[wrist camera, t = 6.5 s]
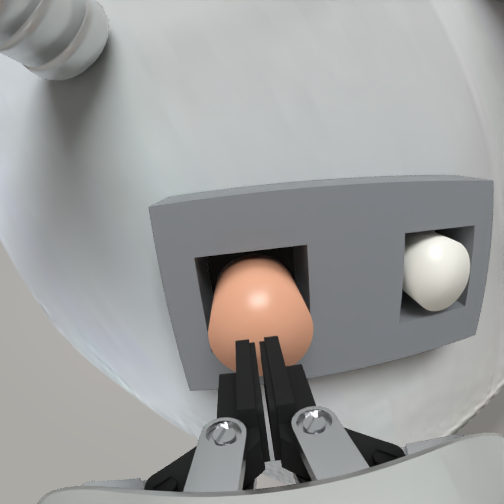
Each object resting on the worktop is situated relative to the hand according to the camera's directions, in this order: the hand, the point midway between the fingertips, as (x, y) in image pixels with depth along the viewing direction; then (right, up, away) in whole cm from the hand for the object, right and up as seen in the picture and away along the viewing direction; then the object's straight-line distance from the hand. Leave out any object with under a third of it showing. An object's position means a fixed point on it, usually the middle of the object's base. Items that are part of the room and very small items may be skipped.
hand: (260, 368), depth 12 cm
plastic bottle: (-13, +20, +5) cm, 25 cm away
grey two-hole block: (+6, +4, +10) cm, 12 cm away
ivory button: (+12, +4, +10) cm, 16 cm away
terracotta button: (0, +2, +7) cm, 7 cm away
